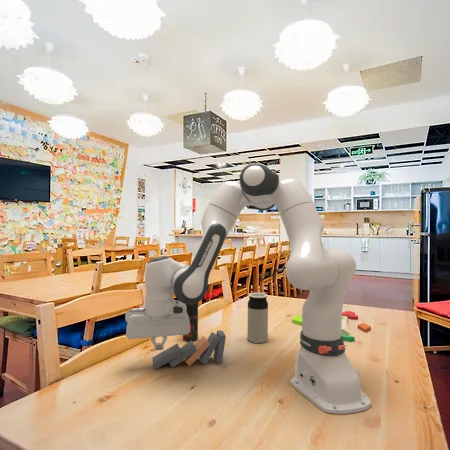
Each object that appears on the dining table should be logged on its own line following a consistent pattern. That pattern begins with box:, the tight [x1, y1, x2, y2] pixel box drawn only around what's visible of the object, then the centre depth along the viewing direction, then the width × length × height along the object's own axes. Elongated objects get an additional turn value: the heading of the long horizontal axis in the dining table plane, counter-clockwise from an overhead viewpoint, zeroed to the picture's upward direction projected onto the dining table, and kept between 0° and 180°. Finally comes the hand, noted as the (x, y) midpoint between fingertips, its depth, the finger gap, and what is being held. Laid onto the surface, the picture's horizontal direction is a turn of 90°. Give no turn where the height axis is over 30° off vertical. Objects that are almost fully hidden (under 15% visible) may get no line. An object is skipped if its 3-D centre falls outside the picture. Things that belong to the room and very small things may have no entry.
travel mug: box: [246, 292, 269, 344], centre depth 123 cm, size 8×8×18 cm
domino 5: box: [212, 330, 227, 364], centre depth 105 cm, size 2×5×9 cm, turn 13°
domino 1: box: [152, 343, 181, 370], centre depth 101 cm, size 2×5×9 cm
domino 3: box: [184, 335, 210, 367], centre depth 103 cm, size 2×5×9 cm
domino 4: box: [198, 331, 219, 365], centre depth 104 cm, size 2×5×9 cm, turn 14°
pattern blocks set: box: [291, 310, 372, 343], centre depth 141 cm, size 38×34×3 cm
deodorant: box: [182, 302, 199, 343], centre depth 123 cm, size 6×6×15 cm
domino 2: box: [168, 340, 196, 368], centre depth 102 cm, size 2×5×9 cm
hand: (158, 349), depth 100 cm, fingers closed
